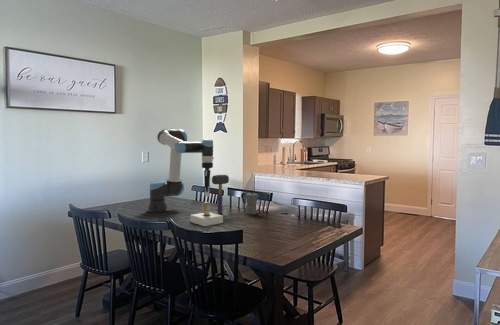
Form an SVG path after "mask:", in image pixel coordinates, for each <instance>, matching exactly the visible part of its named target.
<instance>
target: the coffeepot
mask: <svg viewBox="0 0 500 325" xmlns="http://www.w3.org/2000/svg"><path fill="white" fill-rule="evenodd" d="M240 196H241V200H242V203H243V204H246V209H245V214H246V215H256V214H257V206H256V203H257V200H258V198H259V197H260V195H259V194H258V193H255V192H253V190H250V192H248V193H247V192H242V193H241V195H240ZM244 196H245V198H244ZM245 199H246V200H245ZM245 201H246V202H245Z"/></svg>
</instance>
